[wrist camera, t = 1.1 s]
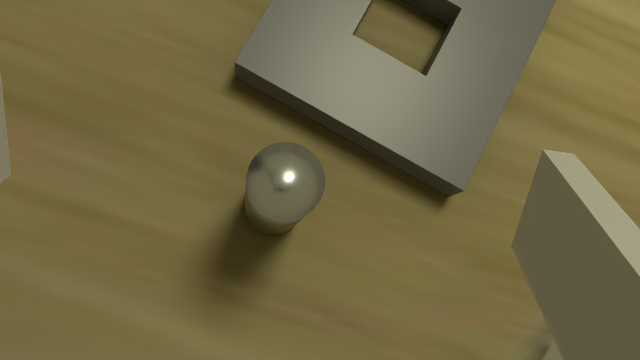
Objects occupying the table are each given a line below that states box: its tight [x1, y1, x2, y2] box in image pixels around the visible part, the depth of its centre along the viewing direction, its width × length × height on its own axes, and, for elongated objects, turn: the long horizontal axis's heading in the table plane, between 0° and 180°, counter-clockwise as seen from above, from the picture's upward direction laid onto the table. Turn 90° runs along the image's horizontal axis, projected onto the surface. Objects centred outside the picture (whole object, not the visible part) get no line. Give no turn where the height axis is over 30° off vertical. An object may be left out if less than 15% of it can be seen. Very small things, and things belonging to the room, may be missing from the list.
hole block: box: [235, 0, 556, 196], centre depth 44 cm, size 18×18×3 cm
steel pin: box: [244, 142, 325, 235], centre depth 36 cm, size 4×4×12 cm
